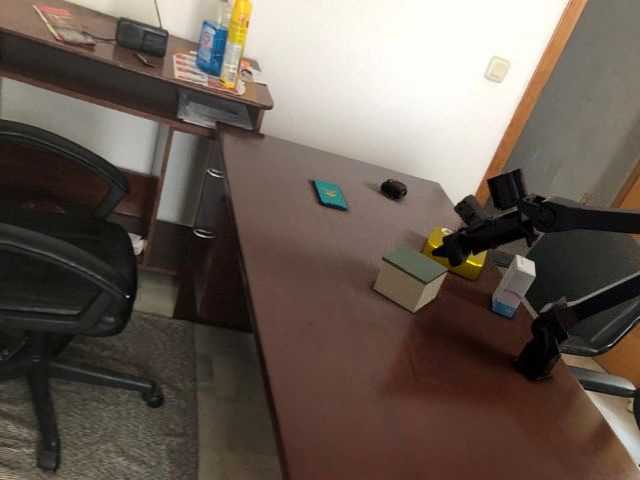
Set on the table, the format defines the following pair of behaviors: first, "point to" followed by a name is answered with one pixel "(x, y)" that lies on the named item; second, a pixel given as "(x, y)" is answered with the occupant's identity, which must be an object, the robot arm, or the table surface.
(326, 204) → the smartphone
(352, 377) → the table surface
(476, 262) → the element tile
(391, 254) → the lid
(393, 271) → the tin
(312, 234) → the table surface
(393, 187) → the tape measure
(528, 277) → the ink box
